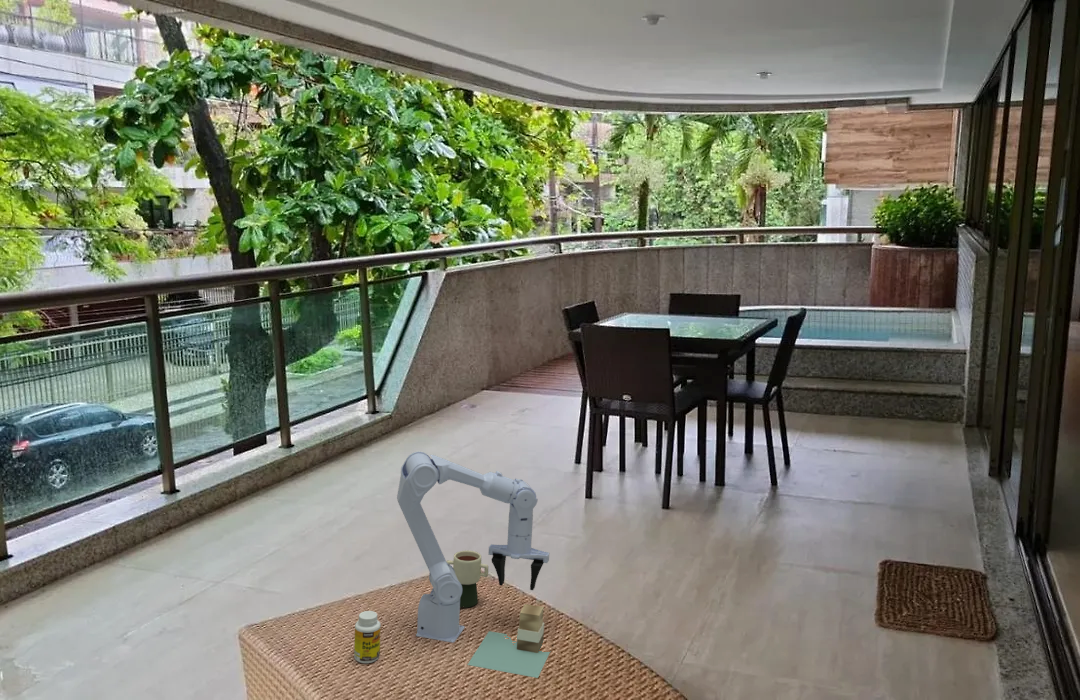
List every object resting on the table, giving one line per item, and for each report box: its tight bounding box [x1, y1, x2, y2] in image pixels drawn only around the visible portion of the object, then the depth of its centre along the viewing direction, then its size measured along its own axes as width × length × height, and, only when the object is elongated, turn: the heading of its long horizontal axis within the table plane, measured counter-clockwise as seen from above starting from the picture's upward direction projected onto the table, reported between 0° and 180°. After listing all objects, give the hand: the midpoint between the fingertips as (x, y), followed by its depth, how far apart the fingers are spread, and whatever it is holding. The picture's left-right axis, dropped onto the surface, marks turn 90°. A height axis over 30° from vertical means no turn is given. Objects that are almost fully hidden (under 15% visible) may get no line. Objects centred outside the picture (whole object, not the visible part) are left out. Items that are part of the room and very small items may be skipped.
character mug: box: [446, 549, 489, 608], centre depth 214 cm, size 11×7×13 cm, turn 82°
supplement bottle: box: [353, 610, 382, 664], centre depth 186 cm, size 6×6×10 cm
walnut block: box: [517, 632, 545, 653], centre depth 195 cm, size 5×5×2 cm
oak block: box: [518, 603, 545, 632], centre depth 194 cm, size 4×4×4 cm
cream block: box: [516, 622, 545, 643], centre depth 194 cm, size 5×5×2 cm
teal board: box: [467, 630, 551, 679], centre depth 191 cm, size 16×16×1 cm
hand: (517, 586), depth 203 cm, fingers open, 7 cm apart
